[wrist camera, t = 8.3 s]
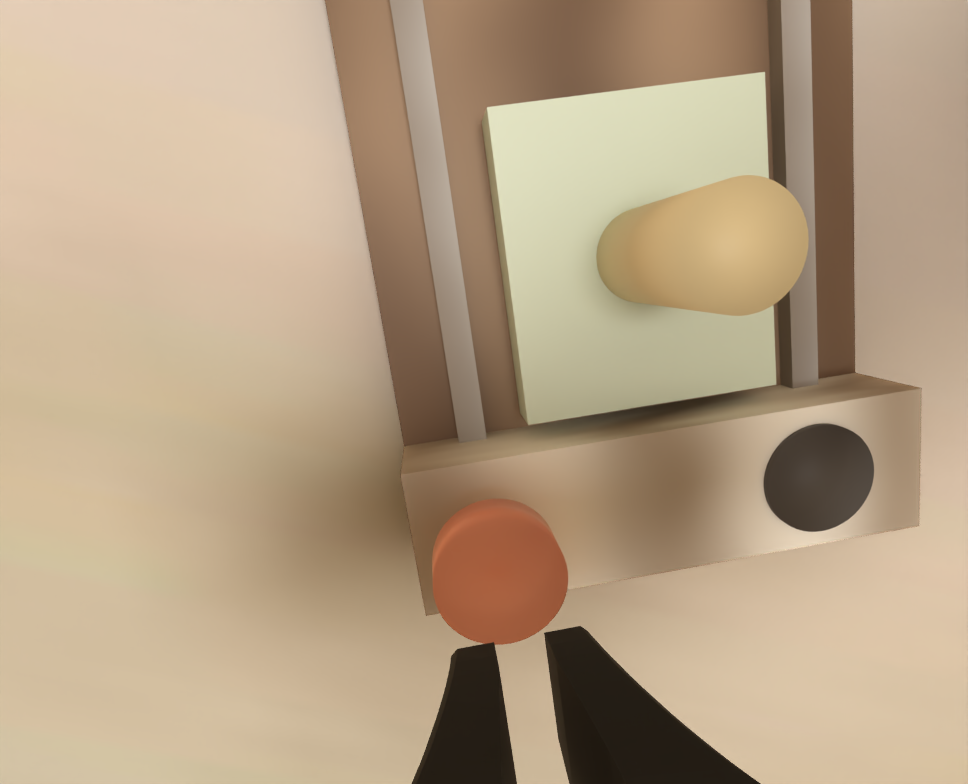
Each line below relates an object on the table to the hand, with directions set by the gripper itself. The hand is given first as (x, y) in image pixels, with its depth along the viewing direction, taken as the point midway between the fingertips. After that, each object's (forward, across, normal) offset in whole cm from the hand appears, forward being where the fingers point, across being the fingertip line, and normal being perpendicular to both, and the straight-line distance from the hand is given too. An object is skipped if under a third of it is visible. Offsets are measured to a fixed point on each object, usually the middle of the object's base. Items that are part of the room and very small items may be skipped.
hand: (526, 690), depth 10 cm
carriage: (+8, -5, -6) cm, 12 cm away
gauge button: (+5, 0, 0) cm, 5 cm away
